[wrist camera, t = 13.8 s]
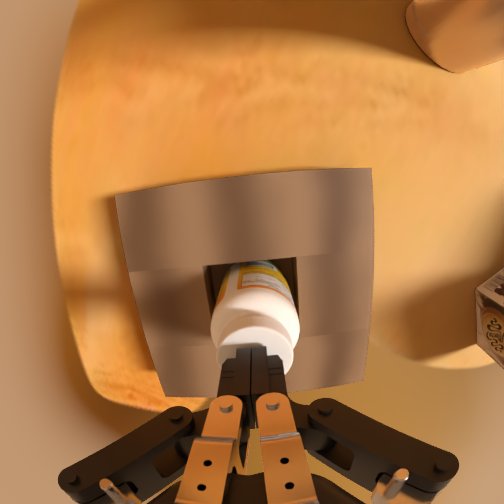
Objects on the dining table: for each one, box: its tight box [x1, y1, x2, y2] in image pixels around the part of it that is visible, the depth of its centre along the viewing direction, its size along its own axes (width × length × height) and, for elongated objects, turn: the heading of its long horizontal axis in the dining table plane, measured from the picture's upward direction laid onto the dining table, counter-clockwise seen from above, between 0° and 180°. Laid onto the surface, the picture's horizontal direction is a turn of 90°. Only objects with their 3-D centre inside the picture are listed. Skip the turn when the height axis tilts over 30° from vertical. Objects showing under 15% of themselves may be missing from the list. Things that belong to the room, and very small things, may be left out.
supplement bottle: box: [211, 260, 300, 374], centre depth 18 cm, size 5×5×10 cm
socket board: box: [115, 168, 374, 397], centre depth 22 cm, size 18×18×4 cm
